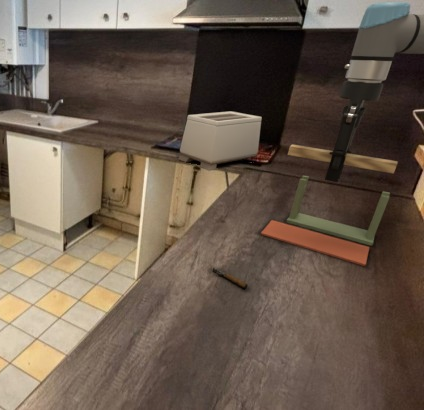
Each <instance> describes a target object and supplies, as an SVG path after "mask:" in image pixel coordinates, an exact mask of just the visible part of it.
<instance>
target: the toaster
mask: <svg viewBox="0 0 424 410" xmlns="http://www.w3.org/2000/svg"><path fill="white" fill-rule="evenodd" d="M262 120H263V119H262V116H259V115H253V114H247V113H242V112H237V111H220V112H208V113H198V114H197V113H196V114H188V115H187V118H186V124H185V127H184V131H183V136H182V139H181V143H180V148H179V154H180V156H179V157H178V158H177V160H179V161H181V162H184V163H189V162H193V161H197V162H200V165H199V166H200V169H203V170H205V171H208V172H211V171H216V170H217V166H218V165H220V164H225V163H230V162H236V161H243V160H242V159H246V158H251V157H255V158H256V156H258V153H259V146H260V136H261V126H262ZM249 163H250V164H252V162H249Z"/></svg>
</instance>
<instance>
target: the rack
mask: <svg viewBox="0 0 424 410" xmlns="http://www.w3.org/2000/svg"><path fill="white" fill-rule="evenodd" d="M309 179H310V176H308V175H302V176H301V178H299V180H298V181H299V182H298V184H297V188H296V192H295V195H294V198H293V202H292V206H291V209H290V213H289V216H288V218H287V219H286V223H285V224H289V225H293V226H296V227H300V228H304V229H307V230H311V231H314V232H318V233H322V234H325V235H329V236H333V237H336V238H340V239H343V240H347V241H351V242H354V243H358V244H362V245H365V246H369V247H373V245H374V242H375V241H374V240H375V237H376V234H377V230H378V228H379V226H380V223H381V221H382V219H383V215H384V212H385V210H386V207H387V205H388V203H389V200H390V196H391V192H388V191H382V192H381V195H380V196H379V199H378V203H377V205H376V208H375V210H374V213H373V215H372V217H371V218H372V219H371V221H370V224H369V226H368V228H367V229H363V228H359V227H356V226H352V225H347V224H344V223H340V222H336V221H333V220H328V219H324V218H320V217H317V216H312V215H309V214H305V213H301V212H300V210H301V207H302V203H303V199H304V196H305V192H306V189H307V185H308V182H309Z"/></svg>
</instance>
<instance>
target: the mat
mask: <svg viewBox="0 0 424 410" xmlns="http://www.w3.org/2000/svg"><path fill="white" fill-rule="evenodd" d="M260 235H261V236H264V237H266V238H267V237H268V238H270V239H274V240H277V241H281V242H283V243H284V242H285V243H287V244H289V245H294V246H298V247H299V248H304V249H307V250H310V251H314V252H317V253H320V254H324V255H327V256H330V257H333V258H336V259H340V260H343V261H346V262H350V263H353V264H356V265H358V266H359V265H360V266H362V267H366V265H367V261H368V256H369V251H370V246H368V245H364V244H361V243H357V242H354V241H350V240H346V239H343V238H339V237H336V236H332V235H328V234H325V233H321V232H318V231H314V230H311V229H307V228H303V227H300V226H296V225H293V224H289V223H284V222H281V221H278V220H273V219H271V220H270V221H269V222H268V224H267V225H266V226H265V227H264V229H263V230H262V231H261V232H260Z"/></svg>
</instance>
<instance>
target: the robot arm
mask: <svg viewBox="0 0 424 410" xmlns="http://www.w3.org/2000/svg"><path fill="white" fill-rule="evenodd" d="M395 54H410V55H411V54H415V55H421V54H422V55H424V14H415V13H411V4H410V3H409V2H407V1H406V2H405V1H386V2H375V3H373V4H370V5H369V6H368V7H367V8H366V9H365V11H364V14H363V16H362V18H361V21H360V24H359V26H358V31H357V35H356V39H355V42H354V46H353V48H352V52H351V57H350V60H349V63H347V64H345V65H344V69H346V72H345V77H344V78H345V79H347V80H344V82H342V85H341V89H340V92H339V96H338V97H340V98H341V99H345V100H349V103H348V105H345V106H344V107H343V110H342V117H341V120H340V122H339V123H340V124H339V125H340V126H339V127H340V128H339V131H338V134H337V137H336V141H335V144H334V147H333V150H332V151H333V152H330V153H329V154H330V155H332V158H331V161H330V162H329V165H328V167H327V171H326V174H325V178H324V180H325V181H329V182H333V183H338V182H339V180H340V178H341V175H342V172H343V168H344V166H345V165H343V164H344V161H345V158H346V154H347V153H349V154H352V152H353V150H352V149H351V147H352V142H353V139H354V136H355V133H356V131H357V128H358V127H359V126H360V123H361V122H362V117H363V116H364V115H365V113H366V109H367V107H363V106H364V103H365V101H367V102H374V101H378V100H379V99H380V97H381V94H382V91H383V88H384V83H383V81H386V80H387V77H388V75H389V72H390V70H391V69H390V68H391V65H392V62H393V59H394V56H395Z"/></svg>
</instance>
